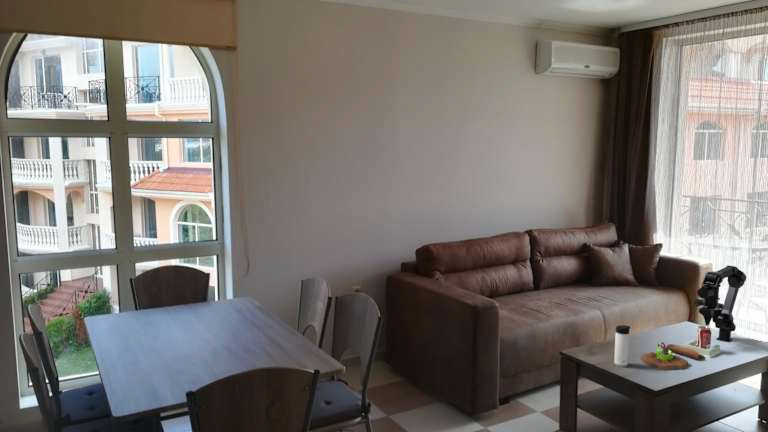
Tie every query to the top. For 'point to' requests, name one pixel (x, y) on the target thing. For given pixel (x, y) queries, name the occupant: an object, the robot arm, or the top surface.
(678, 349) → the sunglasses case
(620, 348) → the travel mug
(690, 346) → the can rack
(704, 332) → the soda can
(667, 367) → the plant
